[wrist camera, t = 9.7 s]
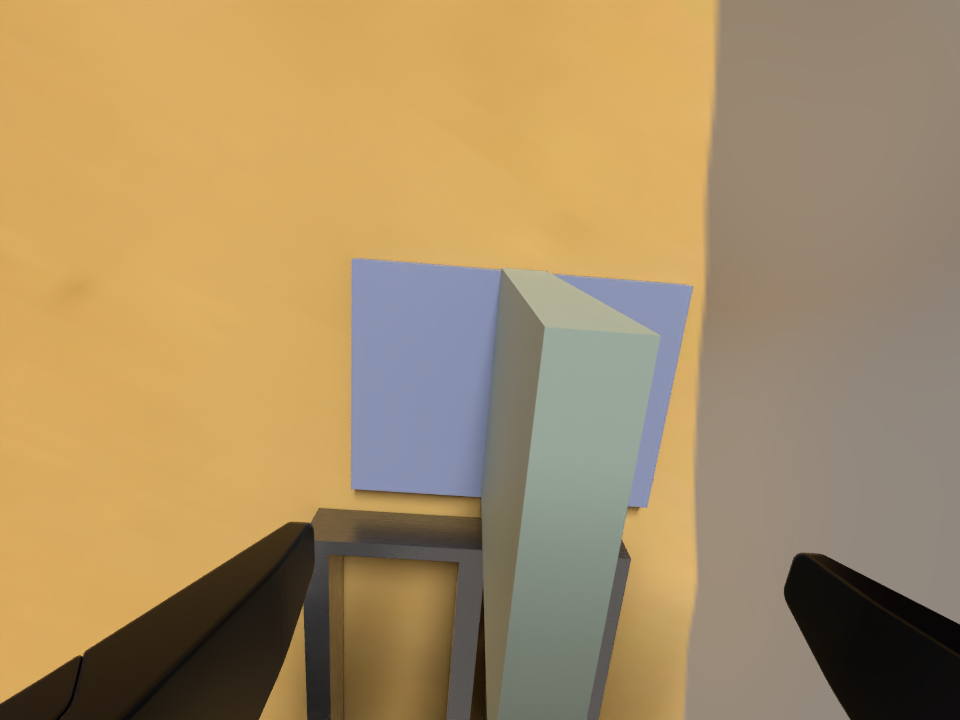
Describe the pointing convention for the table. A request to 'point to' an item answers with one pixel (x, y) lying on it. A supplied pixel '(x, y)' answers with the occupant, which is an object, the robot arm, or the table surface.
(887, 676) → the robot arm
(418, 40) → the table surface
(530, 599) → the green upright panel
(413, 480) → the mat
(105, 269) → the table surface
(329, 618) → the rack
